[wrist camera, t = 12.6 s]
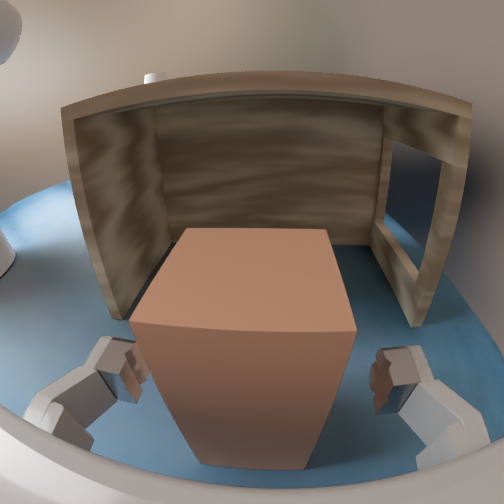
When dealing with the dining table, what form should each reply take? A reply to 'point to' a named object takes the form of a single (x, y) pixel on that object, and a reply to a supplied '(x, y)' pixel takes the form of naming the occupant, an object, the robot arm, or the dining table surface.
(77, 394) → the robot arm
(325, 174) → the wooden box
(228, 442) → the terracotta block
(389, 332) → the dining table surface
